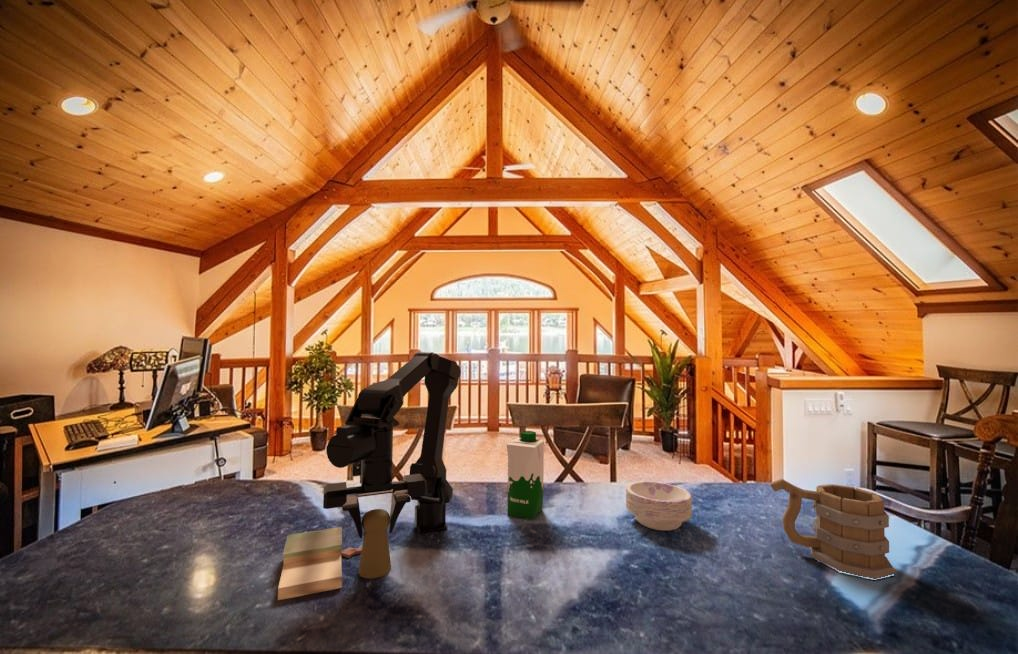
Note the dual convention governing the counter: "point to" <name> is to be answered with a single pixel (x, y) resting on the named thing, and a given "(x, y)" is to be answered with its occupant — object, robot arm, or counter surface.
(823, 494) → the tankard
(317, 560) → the tan piece
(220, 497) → the counter surface
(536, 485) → the milk carton
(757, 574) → the counter surface
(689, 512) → the paper bowls
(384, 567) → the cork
